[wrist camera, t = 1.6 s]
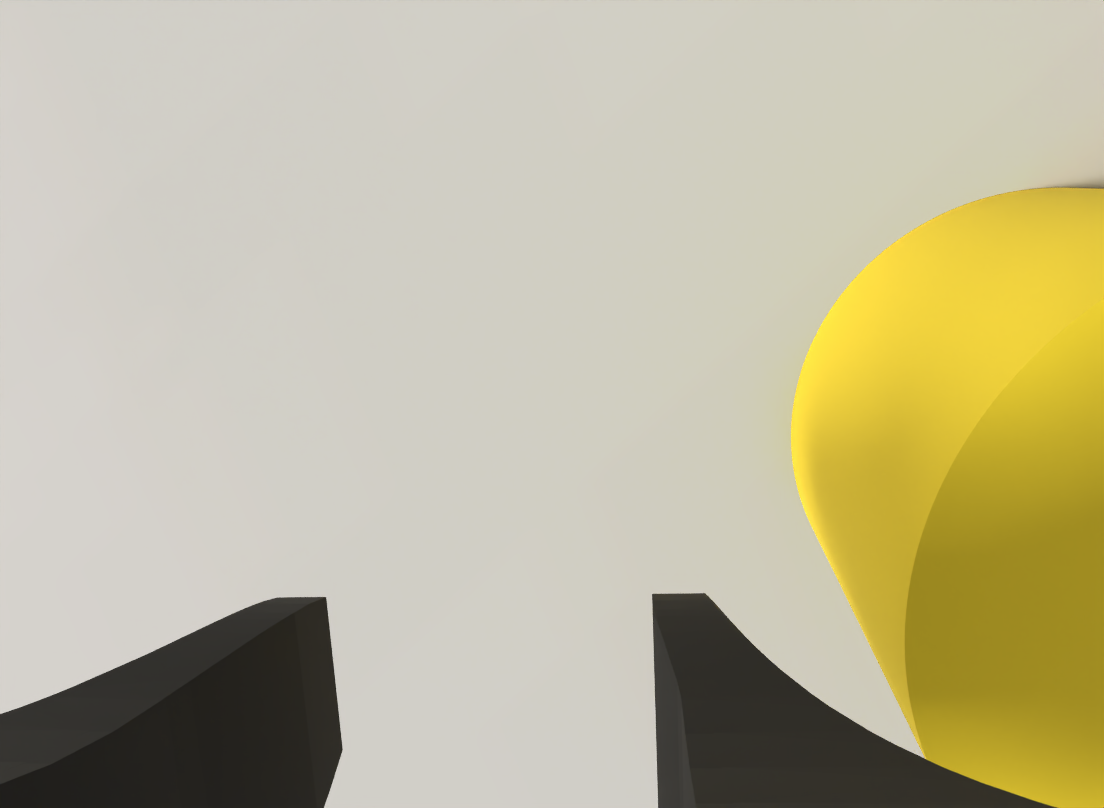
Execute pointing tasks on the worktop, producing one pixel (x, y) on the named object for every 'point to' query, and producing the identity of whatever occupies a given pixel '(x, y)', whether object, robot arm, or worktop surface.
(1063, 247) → the tape roll
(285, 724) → the robot arm
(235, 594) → the worktop surface
